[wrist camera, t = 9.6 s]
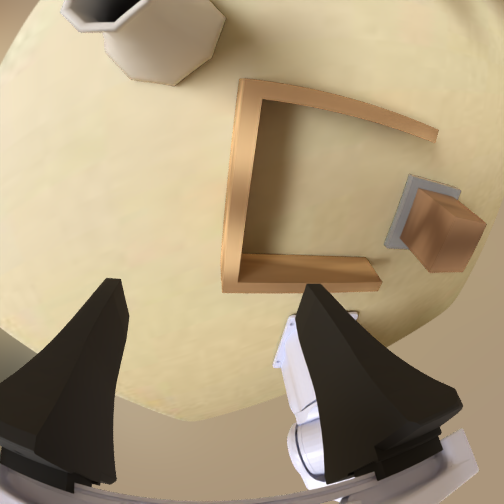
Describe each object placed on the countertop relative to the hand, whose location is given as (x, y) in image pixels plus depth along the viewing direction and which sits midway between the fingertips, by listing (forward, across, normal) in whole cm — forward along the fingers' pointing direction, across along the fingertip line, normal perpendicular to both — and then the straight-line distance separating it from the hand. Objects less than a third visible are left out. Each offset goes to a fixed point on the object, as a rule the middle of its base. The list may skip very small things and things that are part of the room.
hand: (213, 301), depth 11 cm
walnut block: (+10, -19, 0) cm, 21 cm away
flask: (+11, +4, -11) cm, 16 cm away
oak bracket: (+10, -8, -1) cm, 13 cm away
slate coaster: (+10, -19, 0) cm, 22 cm away
